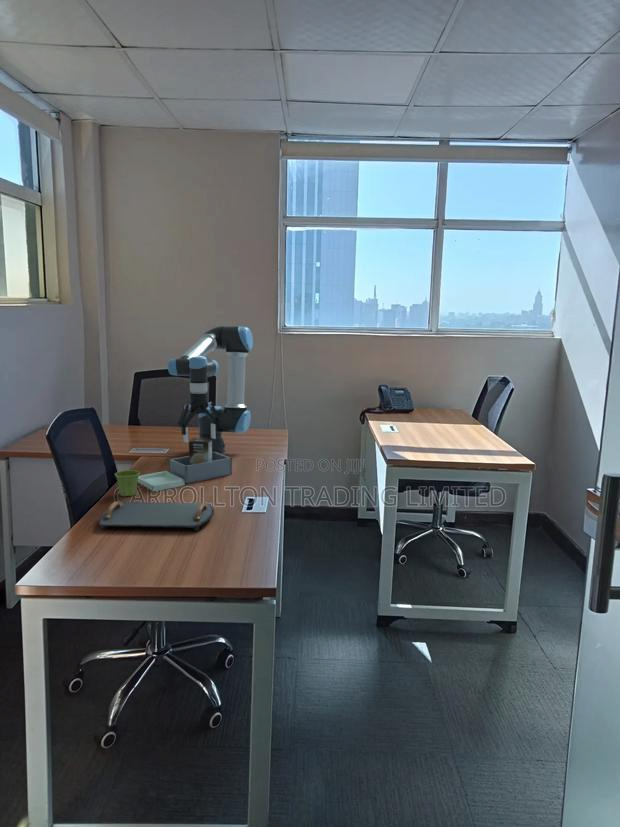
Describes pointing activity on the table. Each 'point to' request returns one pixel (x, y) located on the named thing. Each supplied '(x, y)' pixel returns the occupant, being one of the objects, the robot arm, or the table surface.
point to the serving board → (156, 514)
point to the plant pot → (127, 482)
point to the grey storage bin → (201, 468)
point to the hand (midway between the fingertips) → (199, 440)
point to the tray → (160, 481)
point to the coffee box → (200, 451)
